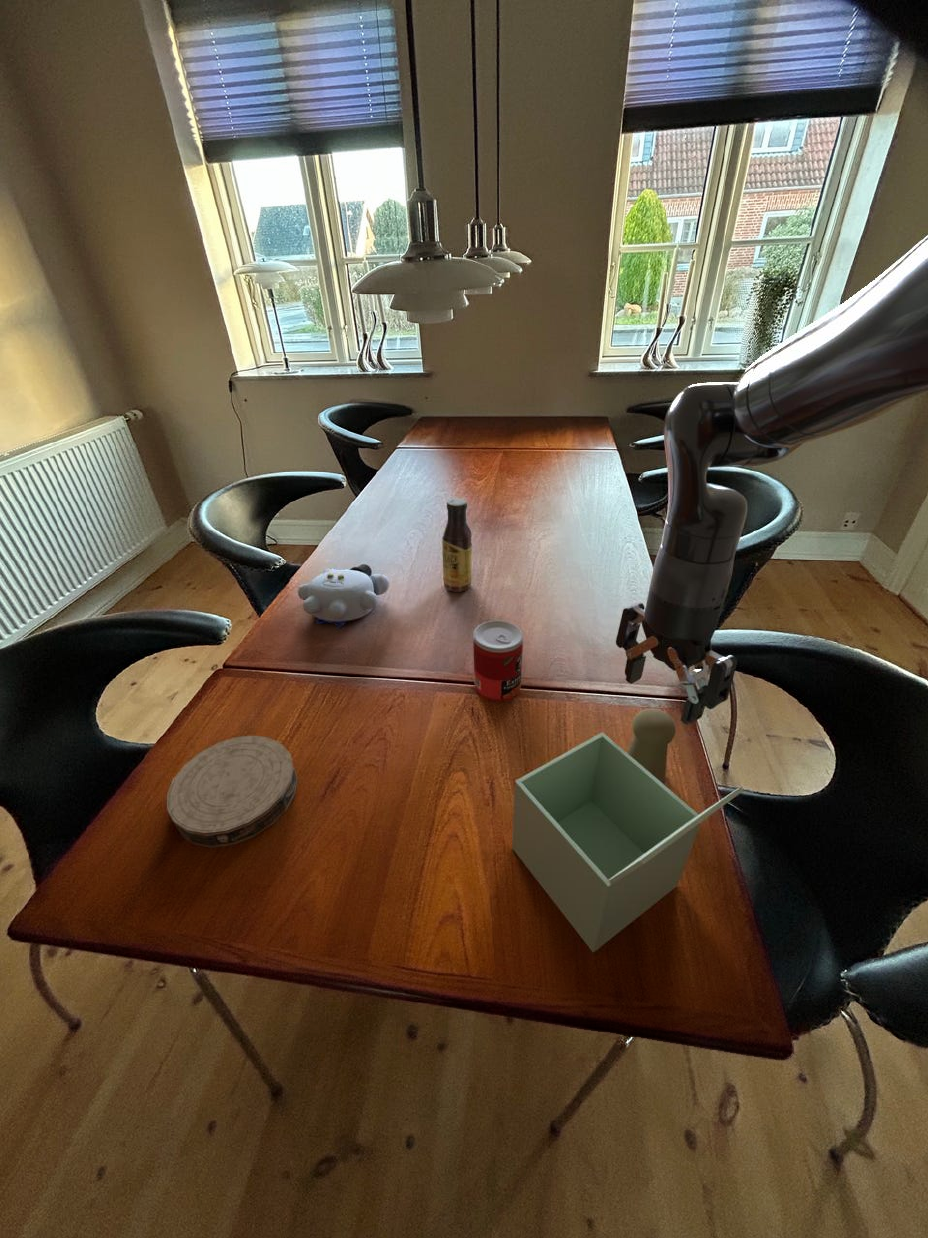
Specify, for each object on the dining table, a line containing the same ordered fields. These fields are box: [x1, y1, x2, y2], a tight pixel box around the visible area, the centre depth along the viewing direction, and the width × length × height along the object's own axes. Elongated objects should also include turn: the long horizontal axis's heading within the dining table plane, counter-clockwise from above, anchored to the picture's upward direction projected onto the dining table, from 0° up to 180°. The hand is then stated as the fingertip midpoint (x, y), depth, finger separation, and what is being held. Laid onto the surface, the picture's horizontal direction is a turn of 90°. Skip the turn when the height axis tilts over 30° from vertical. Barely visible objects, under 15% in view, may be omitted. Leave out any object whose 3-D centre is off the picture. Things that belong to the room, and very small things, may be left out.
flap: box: [609, 786, 745, 885], centre depth 47 cm, size 7×13×1 cm
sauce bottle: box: [441, 497, 473, 593], centre depth 111 cm, size 6×6×20 cm
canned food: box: [472, 620, 524, 703], centre depth 86 cm, size 8×8×11 cm
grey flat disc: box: [166, 735, 298, 848], centre depth 71 cm, size 16×16×3 cm
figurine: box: [297, 563, 390, 628], centre depth 109 cm, size 17×8×20 cm
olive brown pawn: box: [626, 707, 676, 785], centre depth 70 cm, size 6×6×11 cm
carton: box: [511, 732, 701, 953], centre depth 59 cm, size 14×13×12 cm
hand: (659, 699), depth 65 cm, fingers open, 8 cm apart
